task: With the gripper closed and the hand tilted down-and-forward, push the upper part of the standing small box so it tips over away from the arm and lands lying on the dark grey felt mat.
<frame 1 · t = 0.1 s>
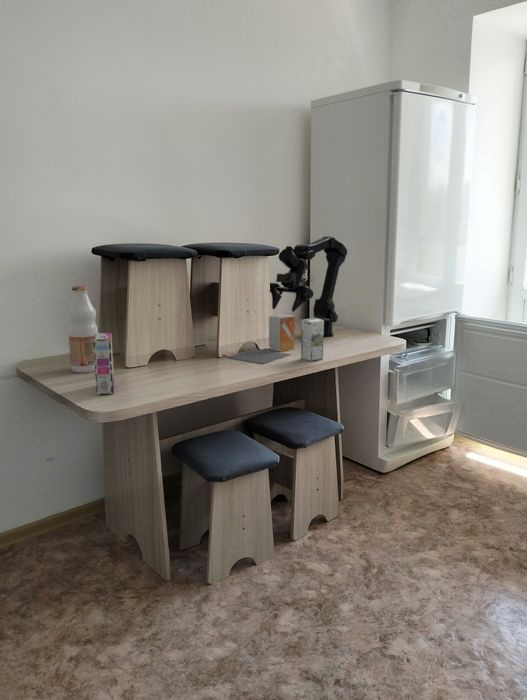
hand: (282, 310, 220), 15 cm above the table, tool tilted 35°, fingers open, 9 cm apart
syrup box: (312, 359, 205), on the table
small box: (281, 349, 221), on the table
felt mat: (259, 356, 209), on the table
fruit juice: (86, 370, 192), on the table
candy bar box: (106, 390, 169), on the table
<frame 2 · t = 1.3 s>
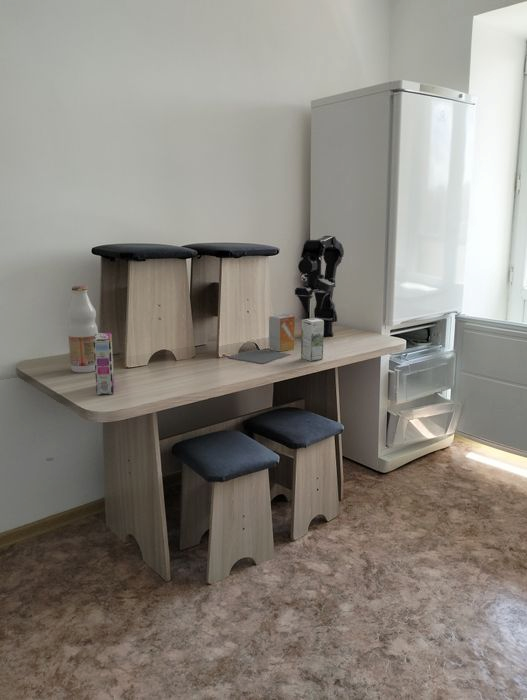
hand: (313, 311, 229), 13 cm above the table, tool pointing down, fingers open, 9 cm apart
nothing on the table moved.
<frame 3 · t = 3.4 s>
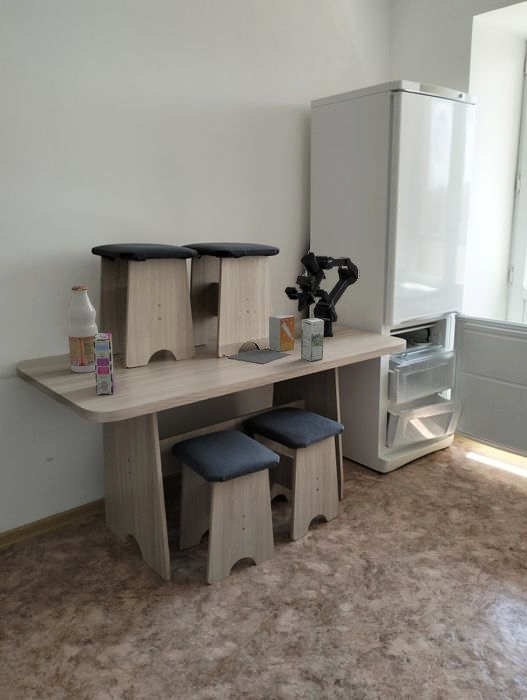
hand: (298, 311, 227), 13 cm above the table, tool tilted 45°, fingers closed
nothing on the table moved.
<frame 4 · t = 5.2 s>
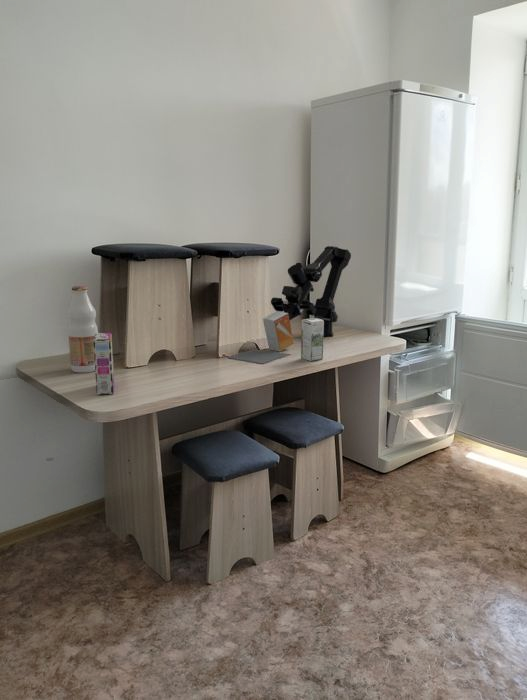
hand: (283, 322, 220), 10 cm above the table, tool tilted 50°, fingers closed, pressing on small box
small box: (281, 347, 220), point 1 cm above the table, touching gripper
everything else where it was.
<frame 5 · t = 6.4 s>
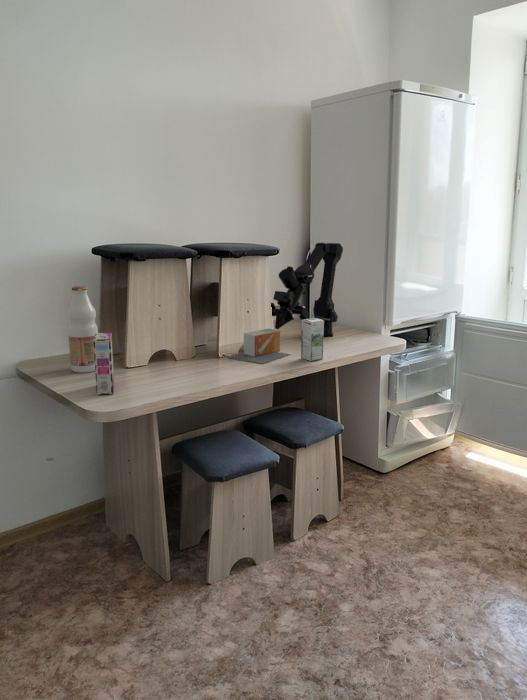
hand: (276, 328, 216), 9 cm above the table, tool tilted 45°, fingers closed
small box: (275, 339, 217), point 4 cm above the table, touching felt mat
everything else where it was.
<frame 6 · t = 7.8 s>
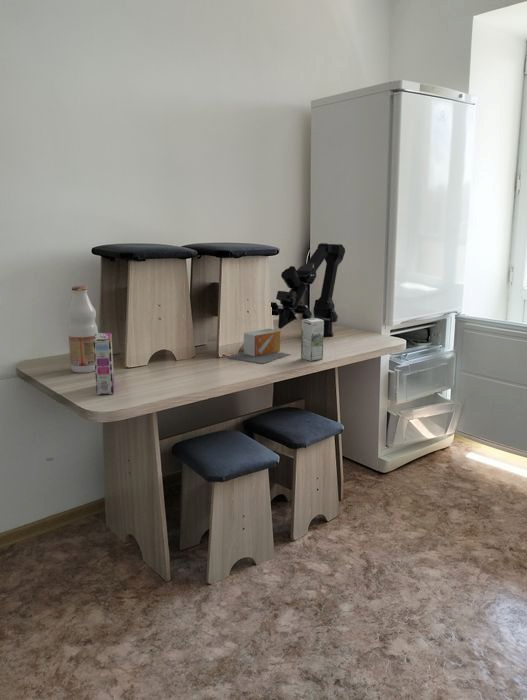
hand: (279, 328, 217), 9 cm above the table, tool tilted 45°, fingers closed
nothing on the table moved.
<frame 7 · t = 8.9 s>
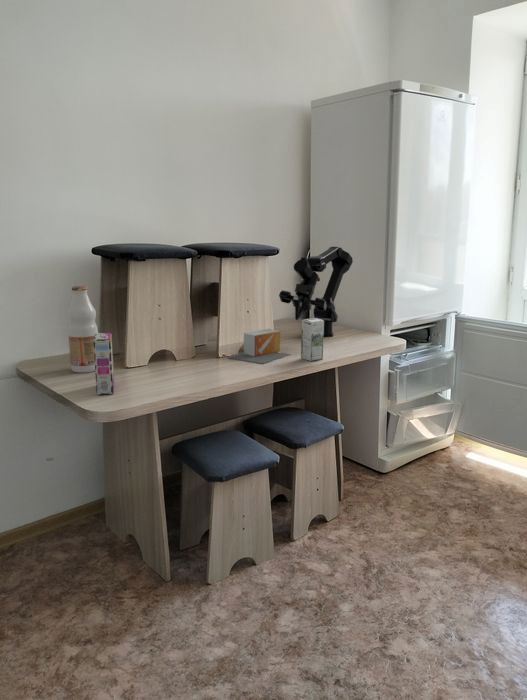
hand: (296, 319, 224), 11 cm above the table, tool tilted 35°, fingers closed
nothing on the table moved.
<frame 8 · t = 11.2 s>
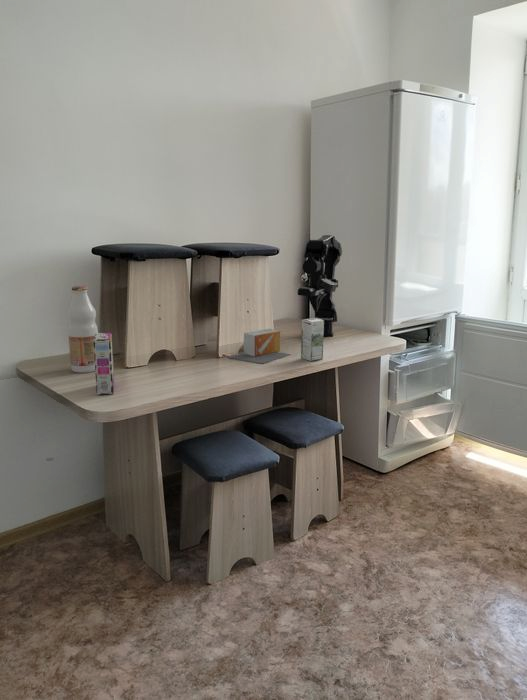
hand: (315, 311, 228), 13 cm above the table, tool pointing down, fingers closed
nothing on the table moved.
at the end: small box tilted 90°; small box 10.8 cm from the felt mat (horizontally); small box touching felt mat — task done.
